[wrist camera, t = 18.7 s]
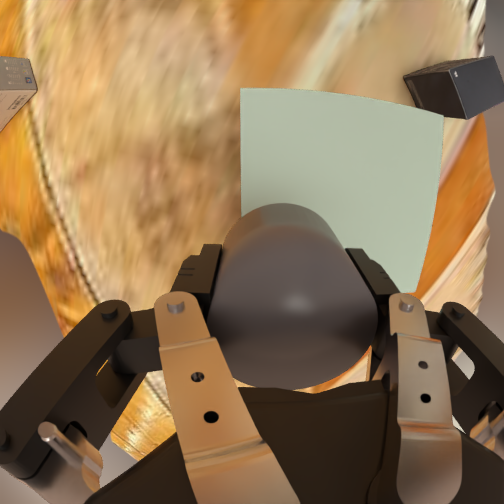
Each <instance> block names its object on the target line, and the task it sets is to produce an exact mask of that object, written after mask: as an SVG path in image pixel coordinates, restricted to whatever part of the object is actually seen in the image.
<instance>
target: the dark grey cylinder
mask: <svg viewBox="0 0 504 504" xmlns="http://www.w3.org/2000/svg"><path fill="white" fill-rule="evenodd" d="M377 324H378V311H377V307H376V303H375V301H374V298H373V296H372V294H371V293H370V291H369V289H368V287H367V286H366V284H365V282H364V281H363V279H362V277H361V275H360V274H359V272H358V270H357V269H356V267H355V266H354V264H353V262H352V261H351V259H350V257H349V256H348V254H347V253H346V251H345V249H344V248H343V246H342V245H341V243H340V241H339V240H338V238H337V237H336V235H335V234H334V232H333V231H332V229H331V228H330V226H329V225H328V223H327V222H326V221H325V220H324V219H323V218H322V217H321V216H319V215H318V214H317V213H315V212H314V211H312V210H310V209H308V208H306V207H303V206H300V205H296V204H290V203H275V204H268V205H265V206H261V207H259V208H256V209H254V210H252V211H250V212H249V213H247V214H245V215H244V216H243V217H242V218H240V219H239V220H238V221H237V222H236V223H235V224H234V225H233V227H232V228H231V229H230V231H229V233H228V235H227V236H226V239H225V241H224V244H223V248H222V253H221V258H220V262H219V267H218V272H217V276H216V281H215V286H214V290H213V295H212V300H211V305H210V308H209V313H208V318H207V323H206V326H207V329H208V331H209V334H210V336H211V337H215V338H216V339H217V341H218V344H219V346H220V349H221V351H222V353H223V356H224V358H225V361H226V363H227V365H228V368H229V370H230V372H231V374H232V377H233V378H235V379H237V380H238V381H240V382H243V383H245V384H248V385H251V386H254V387H259V388H272V387H276V388H281V389H287V390H296V389H303V388H308V387H312V386H315V385H319V384H322V383H324V382H327V381H329V380H331V379H333V378H335V377H337V376H339V375H340V374H342V373H344V372H345V371H347V370H348V369H349V368H351V367H352V366H353V365H354V364H355V363H356V362H357V361H358V360H359V359H360V358H361V357H362V356H363V355H364V354H365V352H366V351H367V350H368V348H369V346H370V345H371V343H372V341H373V339H374V336H375V333H376V330H377Z"/></svg>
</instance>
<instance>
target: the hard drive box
mask: <svg viewBox="0 0 504 504" xmlns="http://www.w3.org/2000/svg"><path fill="white" fill-rule="evenodd" d="M36 89H37V87H36V83H35V80H34V77H33V73H32V70H31V66H30V62H29V59H25V58H15V57H2V56H0V132H1V131H2V129H3V128H4V127H5V125H6V124H7V123H8V122H9V121H10V119H11V118H12V117H13V116H14V115H15V114H16V113H17V112H18V110H19V109H20V108H21V107H22V106H23V105H24V104H25V103H26V102H27V101H28V100H29V99H30V98H31V97H32V95H34V93H35V92H36Z"/></svg>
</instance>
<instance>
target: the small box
mask: <svg viewBox="0 0 504 504" xmlns="http://www.w3.org/2000/svg"><path fill="white" fill-rule="evenodd" d="M403 78H404V80H405V82H406V84H407V86H408V88H409V90H410V92H411V94H412V97H413V99H414V101H415V105H416V107H417V108H418V109H422V110H426V111H429V112H433V113H436V114H440V115H443V116H444V117H451V118H460V119H466V120H468V119H470V118H472V117H474V116H476V115H478V114H480V113H482V112H484V111H486V110H488V109H490V108H491V107H493V106H496V105H498V104H500V103H502V102H504V83H503V80H502V77H501V74H500V71H499V69H498V66H497V63H496V61H495V58H494V56H487V57H480V58H471V59H462V60H453V61H447V62H443V63H440V64H436V65H433V66H430V67H428V68H424V69H421V70H418V71H416V72H413V73H411V74H408V75H405V76H404V77H403Z"/></svg>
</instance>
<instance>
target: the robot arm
mask: <svg viewBox="0 0 504 504" xmlns="http://www.w3.org/2000/svg"><path fill="white" fill-rule="evenodd" d="M345 251H346V253H347V254H348V256H349V257H350V259H351V261H352V262H353V264H354V266H355V267H356V269H357V270H358V272H359V274H360V275H361V277H362V279H363V281H364V282H365V284H366V286H367V287H368V289H369V291H370V293H371V294H372V296H373V298H374V301H375V303H376V307H377V311H378V324H377V330H376V333H375V336H374V339H373V341H372V343H371V349H370V352H369V354H368V363H367V373H366V381H364V382H356V383H348V384H345V385H342V386H339V387H336V388H333V389H330V390H327V391H324V392H320V393H316V394H312V393H305V392H298V391H293V390H287V389H281V388H276V387H272V388H259V387H238V388H237V386H236V383H235V381H234V379H233V377H232V374H231V372H230V370H229V368H228V365H227V363H226V361H225V358H224V356H223V353H222V351H221V349H220V346H219V344H218V341H217V339H216V338H215V337H211V336H210V334H209V331H208V329H207V326H206V323H207V318H208V313H209V308H210V305H211V300H212V295H213V290H214V286H215V281H216V276H217V272H218V267H219V262H220V258H221V253H222V245H221V244H204V245H203V248H202V250H201V253H200V255H191V256H189V257H188V258H187V259H186V260H184V261H183V263H182V266H181V268H180V270H179V272H178V275H177V277H176V279H175V282H174V284H173V286H172V289H171V291H170V293H167V294H164V295H162V296H161V297H159V298H158V299H157V300H156V302H155V304H154V308H152V309H148V310H142V311H135V312H131V311H130V307H129V305H128V304H127V303H126V302H124V301H121V300H108V301H105V302H102V303H100V304H98V305H97V306H96V307H94V308H93V309H92V310H91V311H90V312H89V313H88V314H87V315H86V316H85V317H84V318H83V319H82V320H81V321H80V322H79V323H78V324H77V325H76V326H75V327H74V328H73V329H72V330H71V331H70V332H69V333H68V335H67V336H66V337H65V338H64V339H63V340H62V341H61V342H60V343H59V344H58V345H57V346H56V347H55V348H54V349H53V351H51V353H50V354H49V355H48V356H47V357H46V358H45V359H44V360H43V361H42V362H41V363H40V364H39V366H38V367H37V368H36V369H35V370H34V371H33V372H32V373H31V375H30V376H29V377H28V378H27V379H26V380H25V382H24V383H23V384H22V385H21V386H20V387H19V389H18V390H17V391H16V392H15V393H14V395H13V396H12V397H11V398H10V399H9V401H8V402H7V403H6V404H5V405H4V407H3V408H2V409H1V411H0V466H1V467H2V468H3V469H5V470H6V471H8V472H9V474H10V475H11V476H13V477H14V478H16V479H17V480H19V481H20V482H22V483H23V484H25V485H27V486H28V487H30V488H32V489H33V490H34V491H35V492H37V493H38V494H39V495H40V496H41V497H42V498H44V499H45V500H46V501H47V502H49V503H50V504H504V344H503V342H502V341H501V340H500V339H499V338H497V337H496V335H495V334H494V333H492V331H490V330H489V329H488V328H487V327H486V326H485V325H484V324H483V323H482V322H481V321H480V320H479V319H478V318H477V317H476V316H475V315H474V314H473V313H471V312H470V311H469V310H468V309H467V308H466V307H464V306H463V305H461V304H459V303H456V302H446V303H445V304H444V305H443V306H442V309H441V311H440V313H438V312H432V311H426V310H425V309H424V306H423V304H422V302H421V301H420V300H419V299H417V298H416V297H414V296H412V295H409V294H405V293H401V292H400V290H399V289H398V288H397V286H396V285H395V283H394V282H393V281H392V279H390V277H389V275H388V274H387V273H386V271H385V270H384V268H383V267H382V266H381V265H380V264H378V263H377V262H376V261H374V260H372V259H370V258H369V257H368V255H367V254H366V253H365V251H364V250H363V249H362V248H345ZM458 347H460V348H461V349H462V350H463V351H464V352H465V353H466V355H467V356H468V357H469V358H470V359H471V360H472V361H473V363H474V366H475V371H474V374H473V375H472V377H471V378H470V380H469V379H468V378H467V377H466V376H465V374H464V373H463V372H462V371H461V369H460V368H459V367H458V366H457V365H456V364H455V362H454V361H453V360H452V359H451V358H452V357H453V355H454V353H455V352H456V350H457V348H458ZM107 359H108V361H107V363H106V364H105V365H104V367H103V368H102V369H101V370H100V372H99V373H98V374H97V372H98V371H99V369H100V368H101V367H102V366H103V364H104V363H105V362H106V360H107ZM159 370H163V374H164V379H165V384H166V389H167V394H168V398H169V403H170V407H171V411H172V415H173V419H174V423H175V427H176V432H175V433H174V434H173V435H172V436H170V437H169V438H168V439H167V440H166V441H164V442H163V443H162V444H161V445H159V446H158V447H157V448H156V449H154V450H153V451H152V452H150V453H149V454H148V455H147V456H145V457H144V458H143V459H141V460H140V461H139V462H137V463H136V464H135V465H133V466H132V467H131V468H129V469H128V470H127V471H125V472H124V473H122V474H121V475H120V476H118V477H117V478H115V479H114V480H112V481H111V482H110V483H108V484H107V485H105V486H104V487H102V488H100V484H99V478H100V476H101V472H102V468H103V460H102V457H101V455H100V453H99V449H100V447H101V446H102V445H103V443H104V441H105V440H106V438H107V436H108V435H109V433H110V432H111V430H112V428H113V427H114V425H115V424H116V422H117V420H118V419H119V417H120V416H121V414H122V412H123V411H124V409H125V408H126V406H127V404H128V403H129V401H130V400H131V398H132V396H133V395H134V393H135V392H136V390H137V389H138V387H139V385H140V384H141V382H142V381H143V379H144V378H145V376H146V374H147V372H152V371H159ZM96 375H97V376H96ZM452 415H453V416H454V418H455V419H456V420H457V422H458V423H459V425H460V426H461V428H462V429H463V430H464V432H465V433H466V434H465V433H464V432H462V431H461V430H459V429H458V428H456V427H455V426H454V425H453V421H452Z"/></svg>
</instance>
